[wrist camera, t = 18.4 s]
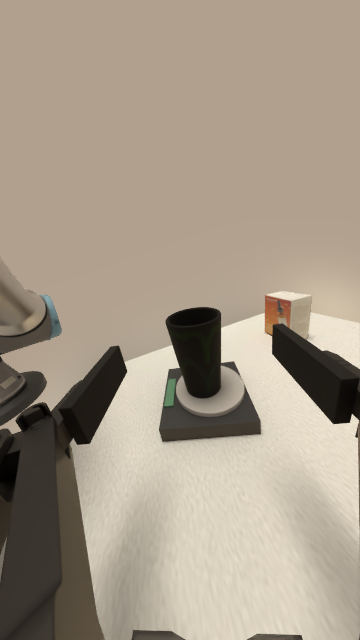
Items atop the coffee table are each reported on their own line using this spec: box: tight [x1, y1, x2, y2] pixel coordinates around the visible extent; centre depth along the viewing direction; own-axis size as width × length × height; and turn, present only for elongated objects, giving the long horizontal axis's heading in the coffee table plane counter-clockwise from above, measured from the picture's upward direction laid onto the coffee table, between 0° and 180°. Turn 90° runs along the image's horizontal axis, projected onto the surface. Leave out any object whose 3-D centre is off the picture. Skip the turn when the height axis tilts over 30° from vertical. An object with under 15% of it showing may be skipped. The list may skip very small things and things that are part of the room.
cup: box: [166, 307, 221, 399], centre depth 26 cm, size 8×8×12 cm
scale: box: [159, 362, 261, 441], centre depth 28 cm, size 13×13×3 cm
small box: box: [265, 291, 312, 339], centre depth 42 cm, size 8×6×10 cm
